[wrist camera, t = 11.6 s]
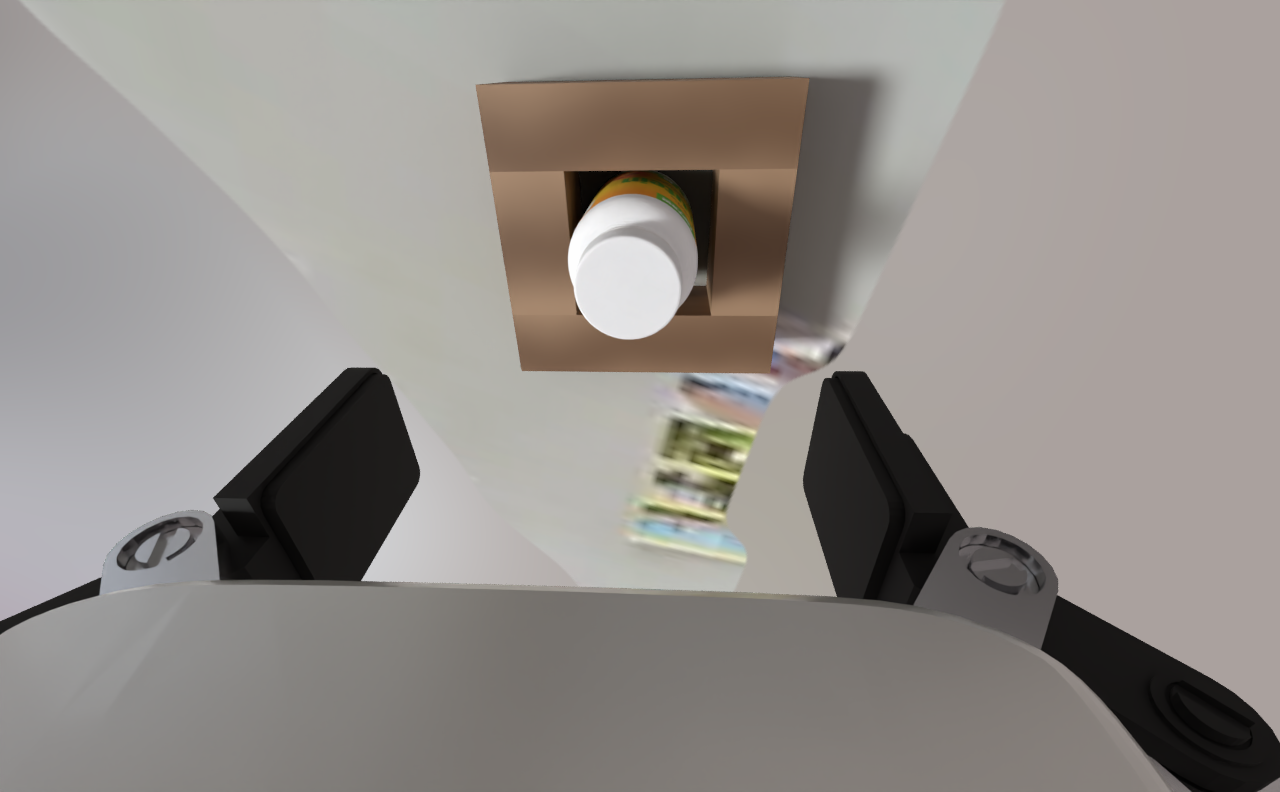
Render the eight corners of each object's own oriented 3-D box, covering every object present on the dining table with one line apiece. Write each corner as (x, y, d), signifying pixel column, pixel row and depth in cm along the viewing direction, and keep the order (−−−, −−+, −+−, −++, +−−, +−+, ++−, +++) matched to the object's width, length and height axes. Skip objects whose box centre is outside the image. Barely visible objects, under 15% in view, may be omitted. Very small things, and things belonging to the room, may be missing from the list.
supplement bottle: (711, 193, 26) (729, 252, 18) (667, 287, 29) (665, 376, 21) (610, 148, 25) (581, 187, 17) (575, 249, 28) (535, 326, 20)
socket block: (503, 82, 24) (475, 84, 20) (789, 76, 23) (809, 78, 20) (538, 337, 31) (521, 370, 27) (758, 339, 30) (769, 373, 27)
